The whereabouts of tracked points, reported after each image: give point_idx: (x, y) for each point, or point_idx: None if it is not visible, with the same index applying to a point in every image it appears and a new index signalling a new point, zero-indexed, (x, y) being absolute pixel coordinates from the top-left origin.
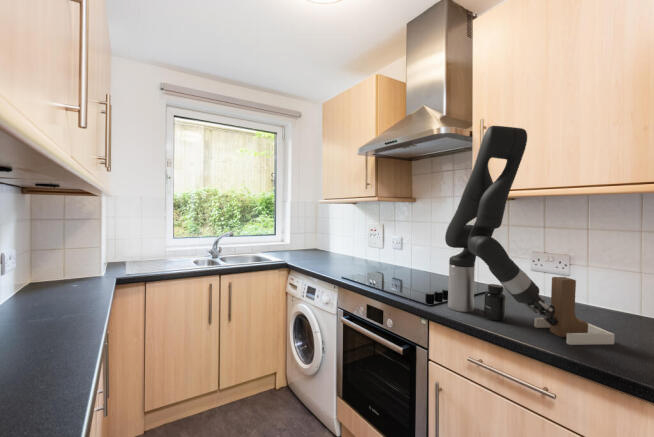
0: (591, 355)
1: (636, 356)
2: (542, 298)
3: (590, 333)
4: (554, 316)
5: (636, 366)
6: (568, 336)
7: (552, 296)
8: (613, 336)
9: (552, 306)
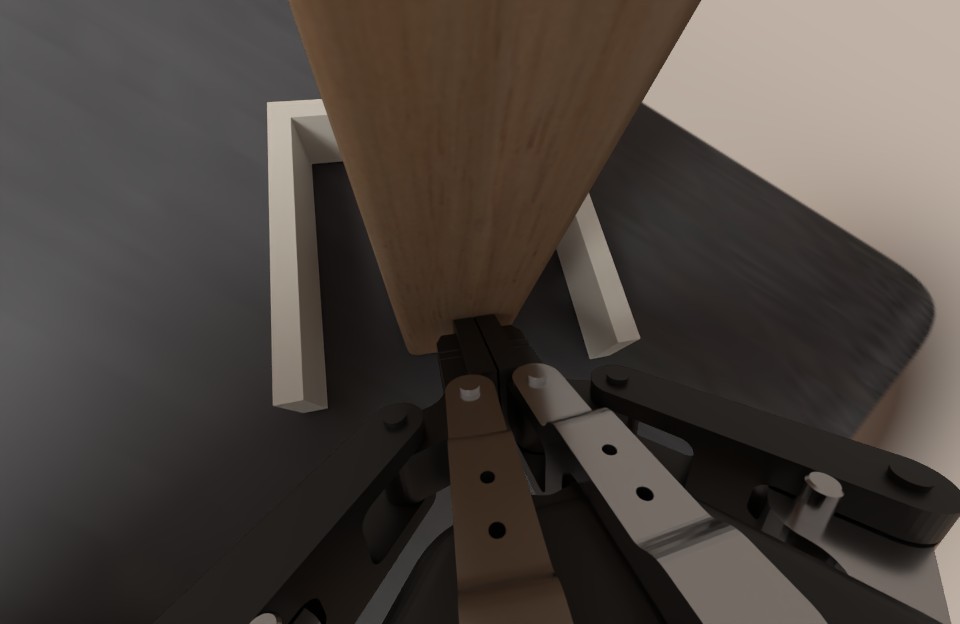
0: (721, 323)
1: (656, 141)
2: (794, 589)
3: None
4: (455, 309)
5: (767, 210)
6: (625, 345)
7: (395, 183)
8: None
9: (954, 502)
